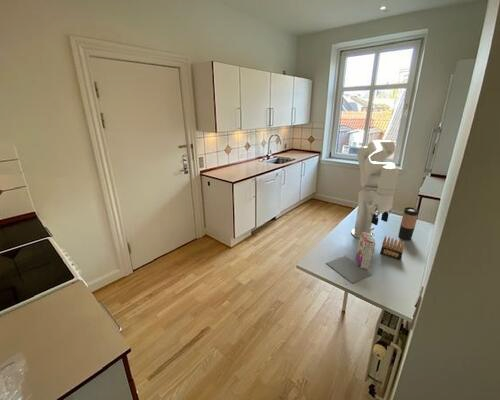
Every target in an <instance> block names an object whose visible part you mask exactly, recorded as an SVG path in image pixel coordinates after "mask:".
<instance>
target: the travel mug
mask: <svg viewBox="0 0 500 400" xmlns="http://www.w3.org/2000/svg"><path fill="white" fill-rule="evenodd" d="M419 213H420V210H419V209H415V208H414V207H404V210H403V214H402V218H401V222H400V226H399V231H398V238H399V240H403V241H411V240H412V237H413V234H414V230H415V227H416V224H417V221H418V216H419Z"/></svg>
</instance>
